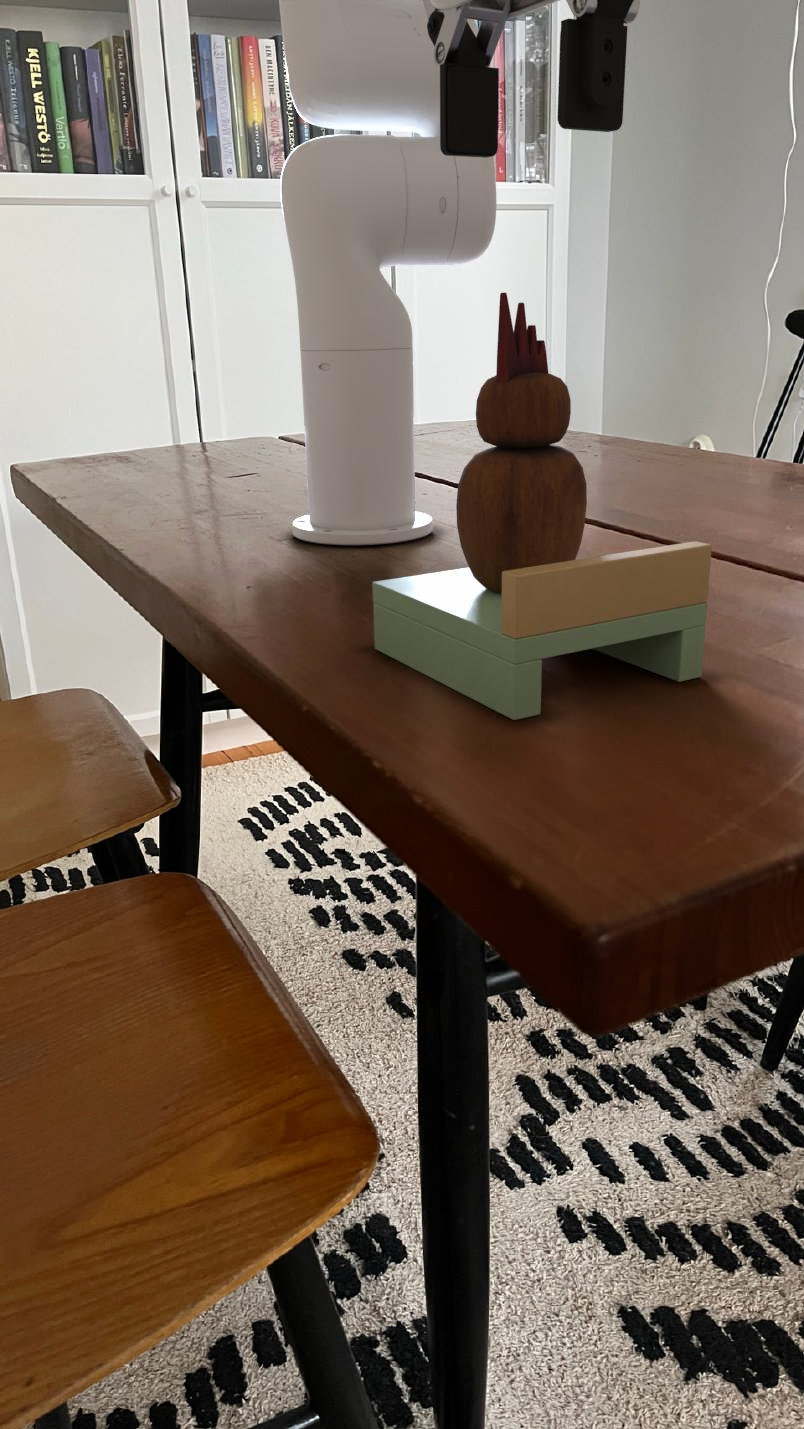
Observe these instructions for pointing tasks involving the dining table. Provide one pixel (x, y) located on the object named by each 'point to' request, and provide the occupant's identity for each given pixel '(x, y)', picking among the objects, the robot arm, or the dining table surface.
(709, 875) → the dining table surface
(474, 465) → the wooden figurine
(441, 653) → the shelf
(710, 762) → the dining table surface
